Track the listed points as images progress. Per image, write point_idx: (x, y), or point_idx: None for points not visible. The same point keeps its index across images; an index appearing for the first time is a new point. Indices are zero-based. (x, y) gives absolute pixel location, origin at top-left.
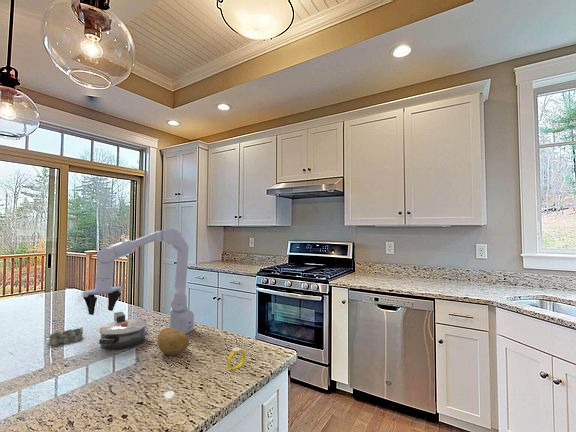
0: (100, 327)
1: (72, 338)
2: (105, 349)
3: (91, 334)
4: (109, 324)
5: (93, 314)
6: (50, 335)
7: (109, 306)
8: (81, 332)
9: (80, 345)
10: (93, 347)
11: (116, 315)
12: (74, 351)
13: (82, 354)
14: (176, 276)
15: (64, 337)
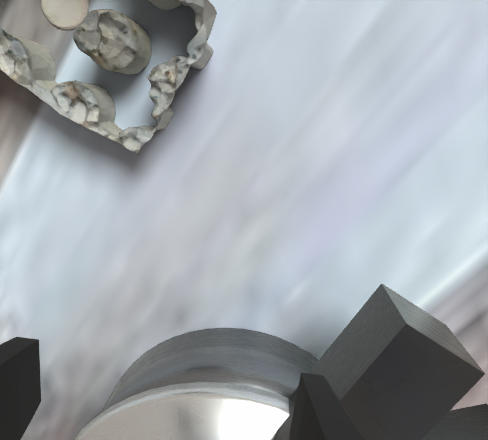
0: (98, 426)
1: (100, 91)
2: None
3: (269, 94)
4: (190, 430)
5: (37, 403)
6: None
7: (305, 436)
8: (156, 107)
9: (82, 237)
10: (98, 344)
11: None
12: (8, 294)
13: None
14: None
15: (31, 69)
